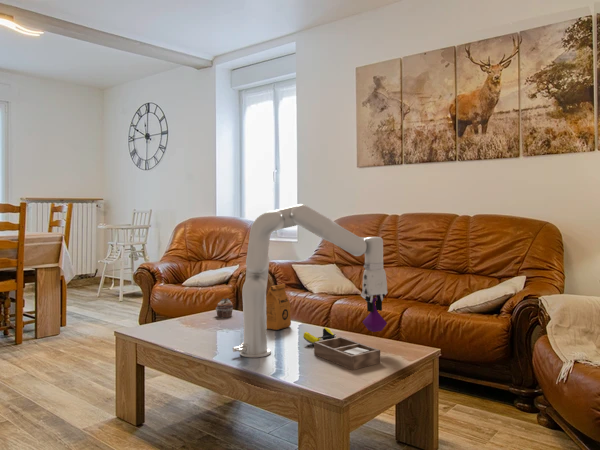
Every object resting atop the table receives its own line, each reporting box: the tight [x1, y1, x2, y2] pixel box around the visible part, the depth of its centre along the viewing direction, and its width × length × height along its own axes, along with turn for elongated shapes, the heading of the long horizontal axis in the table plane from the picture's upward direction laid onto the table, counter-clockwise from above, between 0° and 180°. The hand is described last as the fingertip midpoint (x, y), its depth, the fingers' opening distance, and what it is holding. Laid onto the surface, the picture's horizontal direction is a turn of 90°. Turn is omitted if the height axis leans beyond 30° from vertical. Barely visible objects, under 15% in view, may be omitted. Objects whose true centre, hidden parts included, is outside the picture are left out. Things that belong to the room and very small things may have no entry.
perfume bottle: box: [362, 295, 388, 333], centre depth 196 cm, size 8×8×18 cm
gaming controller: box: [303, 327, 337, 346], centre depth 209 cm, size 15×6×10 cm
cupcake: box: [215, 298, 234, 318], centre depth 269 cm, size 10×10×10 cm
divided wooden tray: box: [313, 336, 381, 371], centre depth 187 cm, size 14×24×5 cm, turn 33°
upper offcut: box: [343, 347, 369, 355], centre depth 182 cm, size 8×6×2 cm
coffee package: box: [266, 283, 292, 331], centre depth 238 cm, size 10×12×22 cm
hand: (374, 310), depth 196 cm, fingers closed on perfume bottle, 3 cm apart
